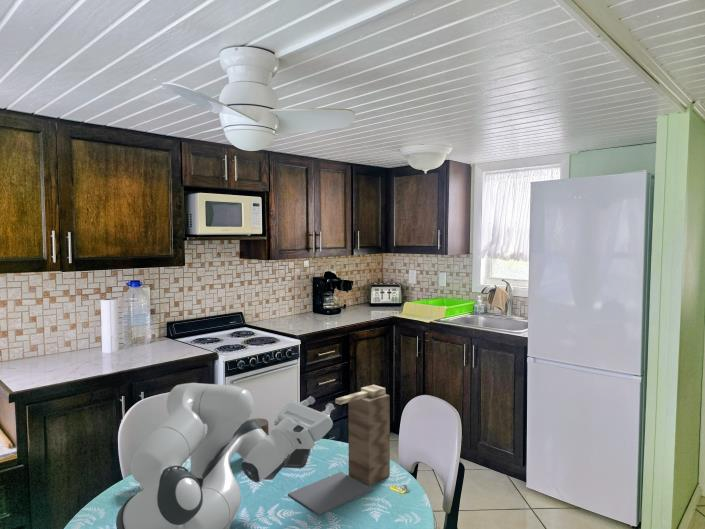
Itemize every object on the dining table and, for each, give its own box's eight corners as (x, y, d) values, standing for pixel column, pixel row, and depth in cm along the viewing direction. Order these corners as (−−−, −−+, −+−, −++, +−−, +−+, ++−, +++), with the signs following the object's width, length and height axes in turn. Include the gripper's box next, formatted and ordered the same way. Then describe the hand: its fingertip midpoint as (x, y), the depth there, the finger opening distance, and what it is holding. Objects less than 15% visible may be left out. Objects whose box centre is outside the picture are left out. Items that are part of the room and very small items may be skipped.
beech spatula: (343, 406, 152) (343, 399, 152) (331, 401, 157) (331, 395, 157) (385, 393, 165) (385, 388, 165) (373, 390, 169) (373, 384, 169)
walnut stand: (368, 485, 158) (368, 401, 157) (348, 475, 165) (348, 394, 164) (389, 476, 164) (389, 395, 163) (369, 466, 172) (369, 388, 171)
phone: (283, 464, 172) (291, 447, 187) (283, 467, 172) (291, 450, 187) (304, 465, 171) (311, 448, 186) (304, 468, 171) (311, 450, 186)
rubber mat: (319, 515, 140) (319, 513, 140) (288, 494, 152) (288, 493, 152) (372, 490, 155) (372, 488, 155) (340, 473, 167) (340, 471, 167)
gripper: (275, 431, 151) (306, 401, 158) (315, 450, 135) (347, 417, 143) (267, 416, 148) (298, 387, 156) (306, 434, 133) (339, 400, 141)
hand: (322, 401), depth 150 cm, fingers open, 8 cm apart
